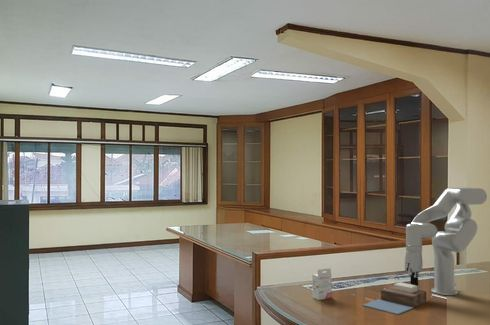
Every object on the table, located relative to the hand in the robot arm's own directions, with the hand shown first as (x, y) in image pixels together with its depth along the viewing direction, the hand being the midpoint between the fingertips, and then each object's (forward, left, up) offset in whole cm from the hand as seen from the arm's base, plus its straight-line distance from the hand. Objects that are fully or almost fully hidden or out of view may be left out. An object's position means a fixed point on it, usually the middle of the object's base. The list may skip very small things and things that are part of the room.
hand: (414, 285), depth 220 cm
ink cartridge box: (+36, -30, -6) cm, 47 cm away
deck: (+11, 0, -6) cm, 12 cm away
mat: (+25, 0, -6) cm, 26 cm away
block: (+9, 0, -1) cm, 9 cm away
